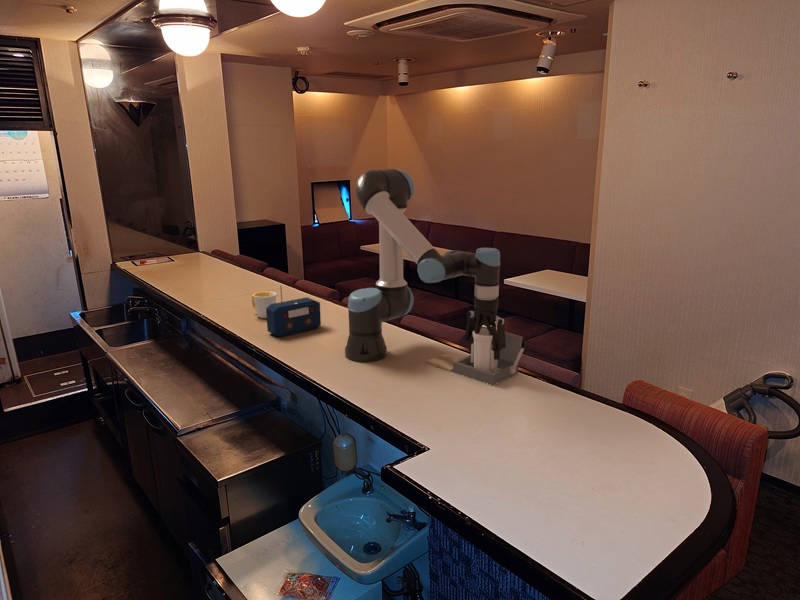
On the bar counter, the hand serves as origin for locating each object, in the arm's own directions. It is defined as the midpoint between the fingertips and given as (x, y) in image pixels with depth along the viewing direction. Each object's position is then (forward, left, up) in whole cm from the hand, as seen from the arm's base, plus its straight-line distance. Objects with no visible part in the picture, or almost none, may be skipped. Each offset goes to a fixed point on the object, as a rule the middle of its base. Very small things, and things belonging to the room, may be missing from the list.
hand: (483, 364), depth 178 cm
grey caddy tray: (+2, -1, -3) cm, 4 cm away
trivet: (-1, +15, -3) cm, 15 cm away
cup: (0, 0, -3) cm, 3 cm away
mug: (-14, +110, -3) cm, 111 cm away
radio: (-17, +82, -3) cm, 84 cm away
